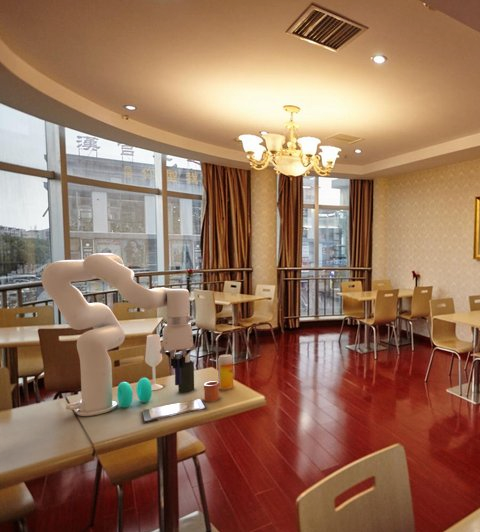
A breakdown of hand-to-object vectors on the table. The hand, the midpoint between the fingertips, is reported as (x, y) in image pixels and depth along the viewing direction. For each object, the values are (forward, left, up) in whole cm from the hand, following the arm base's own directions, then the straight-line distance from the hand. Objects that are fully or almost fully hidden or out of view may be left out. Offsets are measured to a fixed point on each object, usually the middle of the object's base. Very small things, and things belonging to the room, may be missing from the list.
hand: (178, 366), depth 153 cm
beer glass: (+20, +13, -17) cm, 30 cm away
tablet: (-2, -2, -17) cm, 17 cm away
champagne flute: (-6, +33, -17) cm, 38 cm away
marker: (0, 0, -7) cm, 7 cm away
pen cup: (+12, +2, -17) cm, 21 cm away
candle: (+5, +19, -17) cm, 26 cm away
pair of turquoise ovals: (-14, +15, -17) cm, 26 cm away
